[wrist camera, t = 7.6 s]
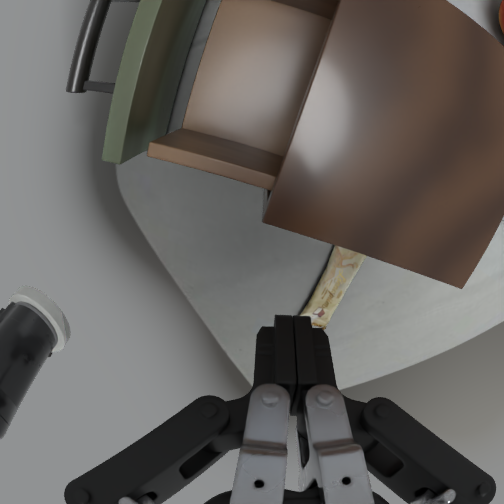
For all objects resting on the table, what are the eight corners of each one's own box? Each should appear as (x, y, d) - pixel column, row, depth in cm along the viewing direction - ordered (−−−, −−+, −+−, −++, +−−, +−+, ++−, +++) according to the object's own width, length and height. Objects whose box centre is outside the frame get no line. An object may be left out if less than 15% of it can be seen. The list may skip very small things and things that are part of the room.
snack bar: (337, 238, 24) (370, 253, 23) (339, 232, 25) (370, 247, 24) (294, 324, 28) (322, 337, 28) (298, 315, 29) (324, 328, 29)
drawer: (95, 127, 20) (37, 146, 13) (140, -28, 13) (94, -61, 7) (312, 184, 22) (330, 225, 15) (370, 22, 15) (414, -3, 9)
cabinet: (264, 174, 22) (261, 222, 14) (324, 0, 15) (357, -48, 7) (412, 228, 24) (462, 289, 16) (471, 81, 17) (546, 91, 9)
